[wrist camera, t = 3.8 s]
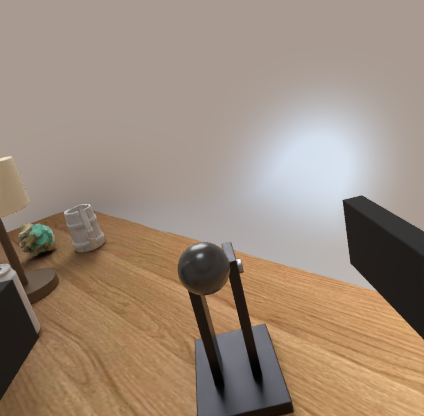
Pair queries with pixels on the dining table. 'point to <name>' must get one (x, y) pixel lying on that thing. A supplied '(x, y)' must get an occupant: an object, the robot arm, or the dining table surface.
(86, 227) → the mug
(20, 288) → the beverage can
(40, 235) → the scepter
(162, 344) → the dining table surface
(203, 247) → the lamp switch
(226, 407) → the switch bracket
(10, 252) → the lamp
